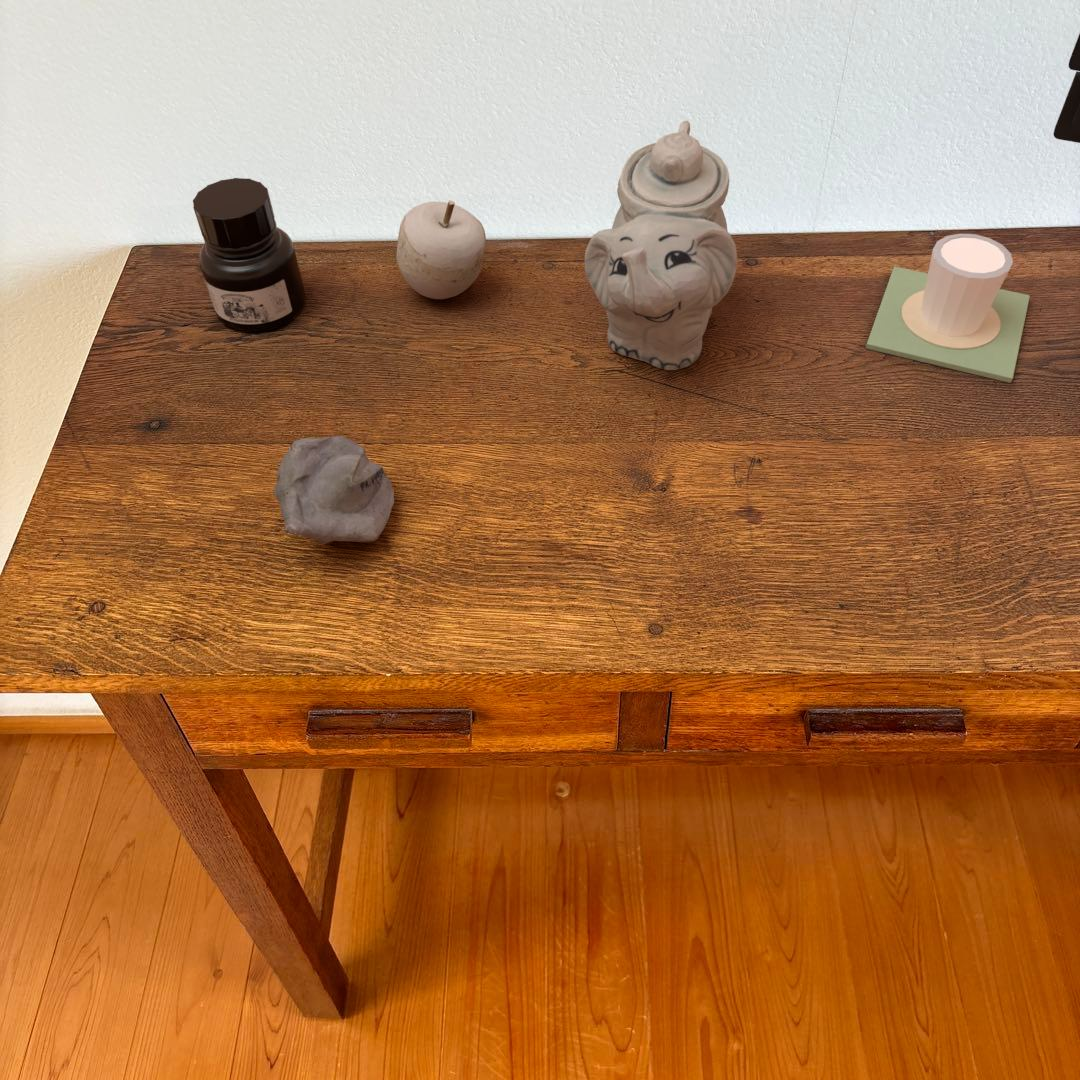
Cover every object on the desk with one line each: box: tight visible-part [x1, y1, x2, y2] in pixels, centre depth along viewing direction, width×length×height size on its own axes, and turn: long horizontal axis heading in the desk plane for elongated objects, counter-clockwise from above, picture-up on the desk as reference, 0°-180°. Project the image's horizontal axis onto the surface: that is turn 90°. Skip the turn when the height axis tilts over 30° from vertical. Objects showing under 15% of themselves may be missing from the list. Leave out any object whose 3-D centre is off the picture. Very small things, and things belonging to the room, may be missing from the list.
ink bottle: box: [192, 177, 306, 332], centre depth 96 cm, size 10×9×12 cm
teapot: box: [584, 120, 738, 371], centre depth 89 cm, size 16×15×19 cm
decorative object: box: [395, 200, 487, 300], centre depth 98 cm, size 9×9×10 cm
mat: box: [865, 265, 1031, 384], centre depth 96 cm, size 13×13×1 cm
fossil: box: [273, 435, 395, 545], centre depth 79 cm, size 11×9×8 cm
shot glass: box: [920, 233, 1014, 337], centre depth 93 cm, size 7×7×7 cm
